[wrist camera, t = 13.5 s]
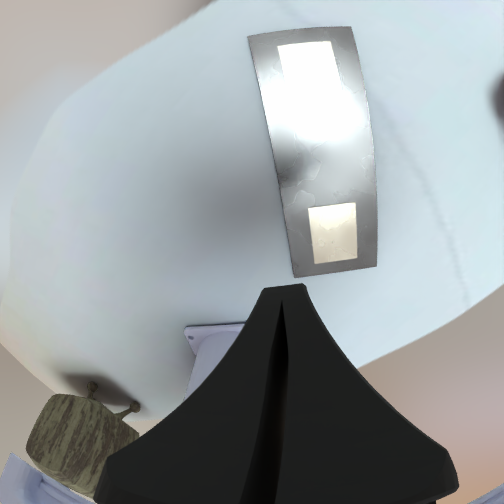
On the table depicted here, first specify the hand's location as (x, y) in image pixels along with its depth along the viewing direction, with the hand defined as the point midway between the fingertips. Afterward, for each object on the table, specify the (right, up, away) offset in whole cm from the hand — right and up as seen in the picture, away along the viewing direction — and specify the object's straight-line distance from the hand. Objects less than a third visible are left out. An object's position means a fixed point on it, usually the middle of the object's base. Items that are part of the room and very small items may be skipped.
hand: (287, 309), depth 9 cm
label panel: (+3, +8, +6) cm, 10 cm away
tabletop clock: (-24, -19, +24) cm, 39 cm away
